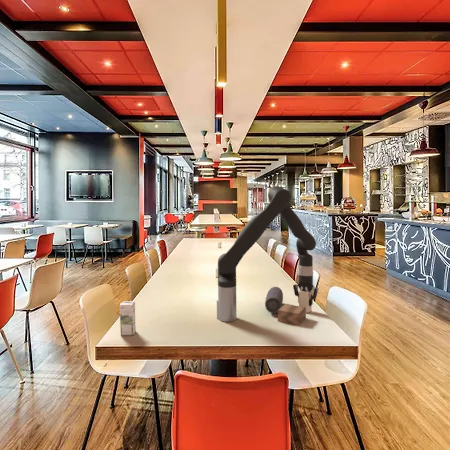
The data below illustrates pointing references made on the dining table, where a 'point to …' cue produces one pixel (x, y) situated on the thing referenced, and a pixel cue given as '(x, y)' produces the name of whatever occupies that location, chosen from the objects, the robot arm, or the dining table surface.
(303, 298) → the cream carton
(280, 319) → the walnut block
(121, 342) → the dining table surface
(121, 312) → the syrup box
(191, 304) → the dining table surface
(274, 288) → the bluetooth speaker
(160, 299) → the dining table surface
